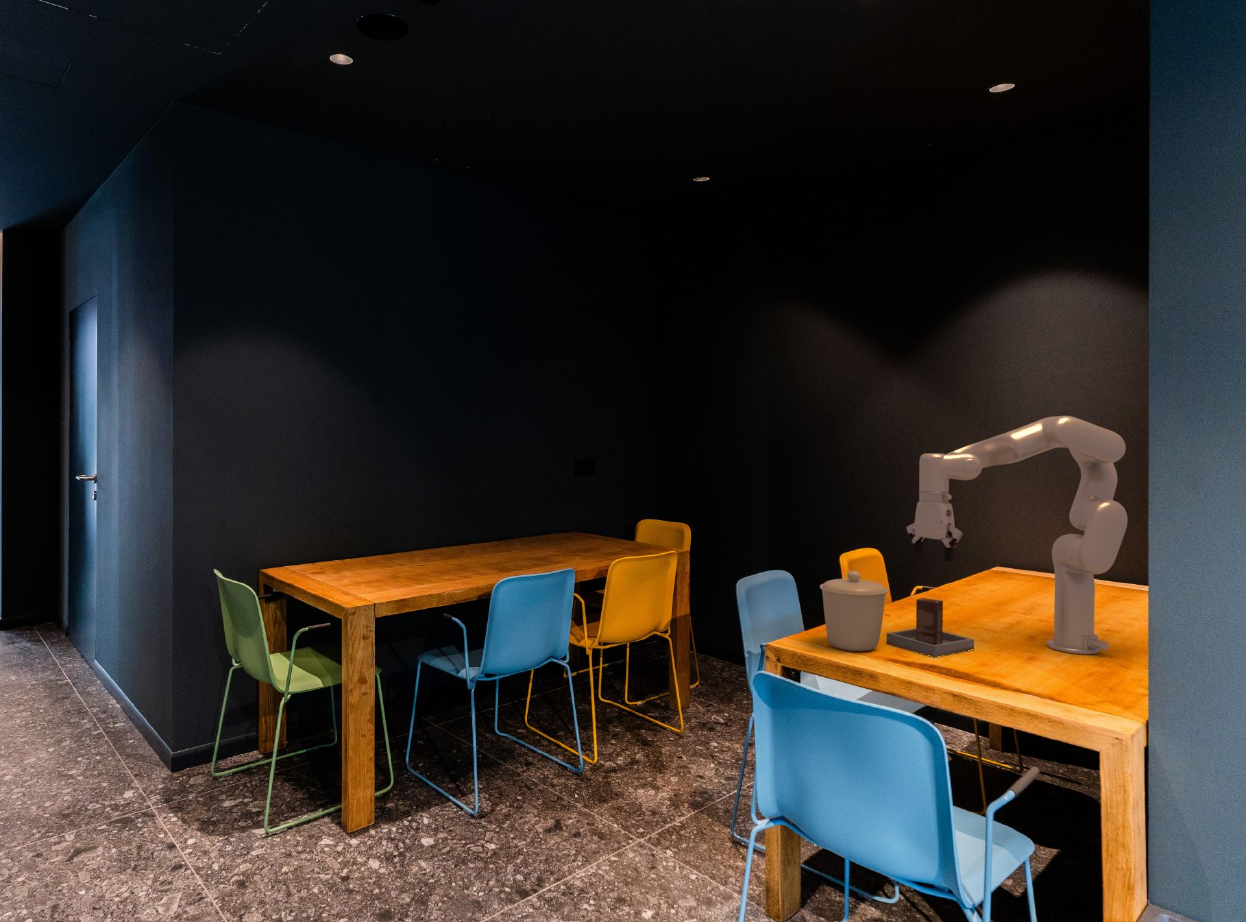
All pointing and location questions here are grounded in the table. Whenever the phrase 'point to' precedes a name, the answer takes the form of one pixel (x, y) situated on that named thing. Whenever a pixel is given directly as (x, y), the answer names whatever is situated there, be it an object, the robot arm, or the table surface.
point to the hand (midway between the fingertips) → (933, 559)
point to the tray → (948, 646)
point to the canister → (853, 612)
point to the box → (929, 621)
